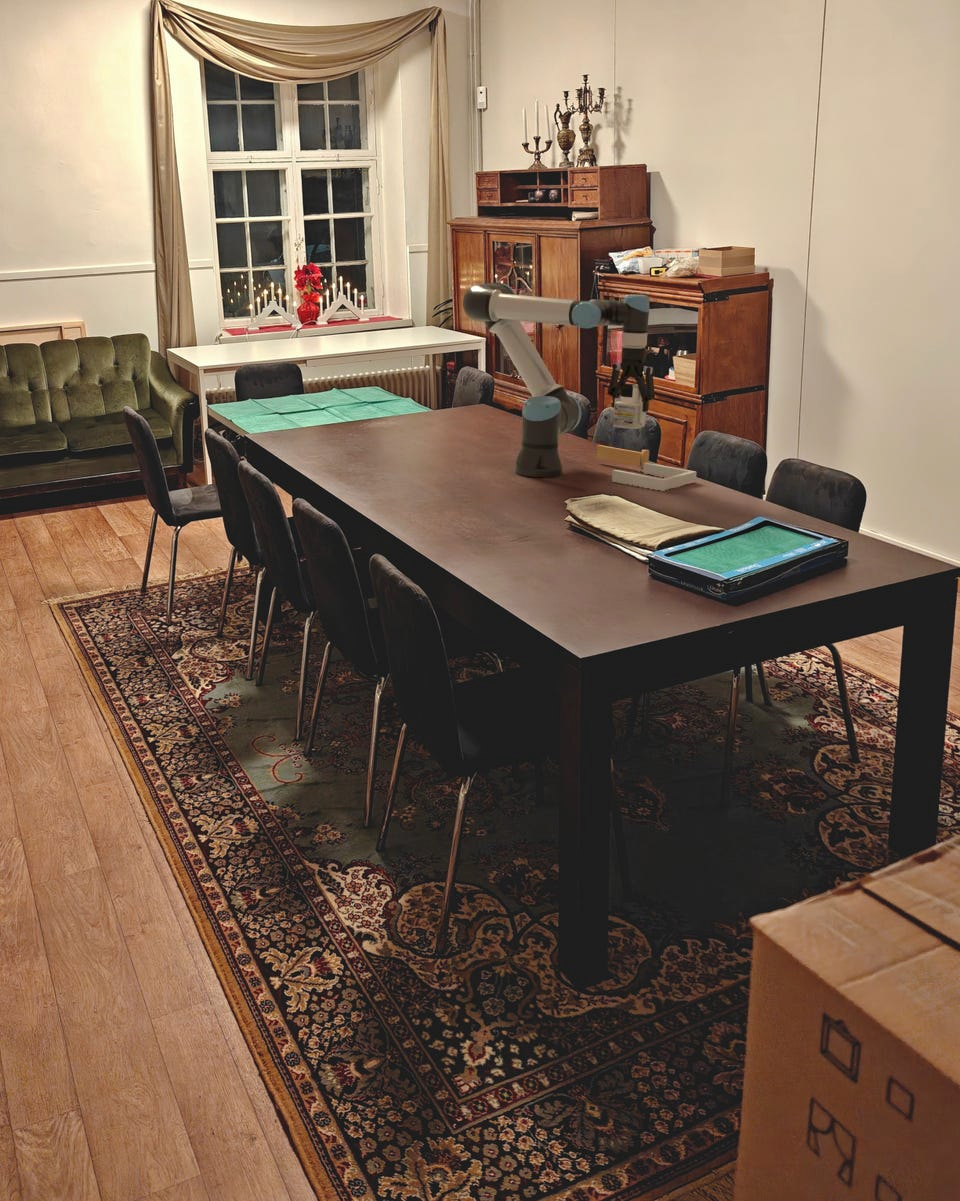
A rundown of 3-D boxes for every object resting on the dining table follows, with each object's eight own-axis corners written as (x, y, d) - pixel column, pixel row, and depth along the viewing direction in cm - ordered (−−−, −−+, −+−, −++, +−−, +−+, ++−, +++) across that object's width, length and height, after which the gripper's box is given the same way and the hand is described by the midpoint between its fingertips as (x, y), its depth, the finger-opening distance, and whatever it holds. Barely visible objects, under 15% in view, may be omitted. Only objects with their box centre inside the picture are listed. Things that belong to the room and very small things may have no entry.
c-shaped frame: (663, 491, 342) (664, 480, 341) (611, 481, 353) (612, 470, 352) (695, 482, 356) (696, 471, 355) (645, 473, 367) (646, 462, 366)
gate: (595, 459, 379) (596, 442, 377) (599, 458, 381) (600, 441, 379) (645, 468, 367) (646, 451, 365) (649, 467, 369) (650, 450, 367)
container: (612, 426, 356) (615, 384, 352) (621, 423, 363) (624, 382, 359) (636, 429, 353) (639, 387, 349) (644, 426, 359) (647, 384, 355)
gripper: (670, 348, 347) (665, 423, 353) (611, 343, 359) (607, 415, 366) (657, 350, 341) (652, 425, 348) (598, 344, 354) (594, 417, 361)
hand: (629, 420), depth 357 cm, fingers closed on container, 9 cm apart
